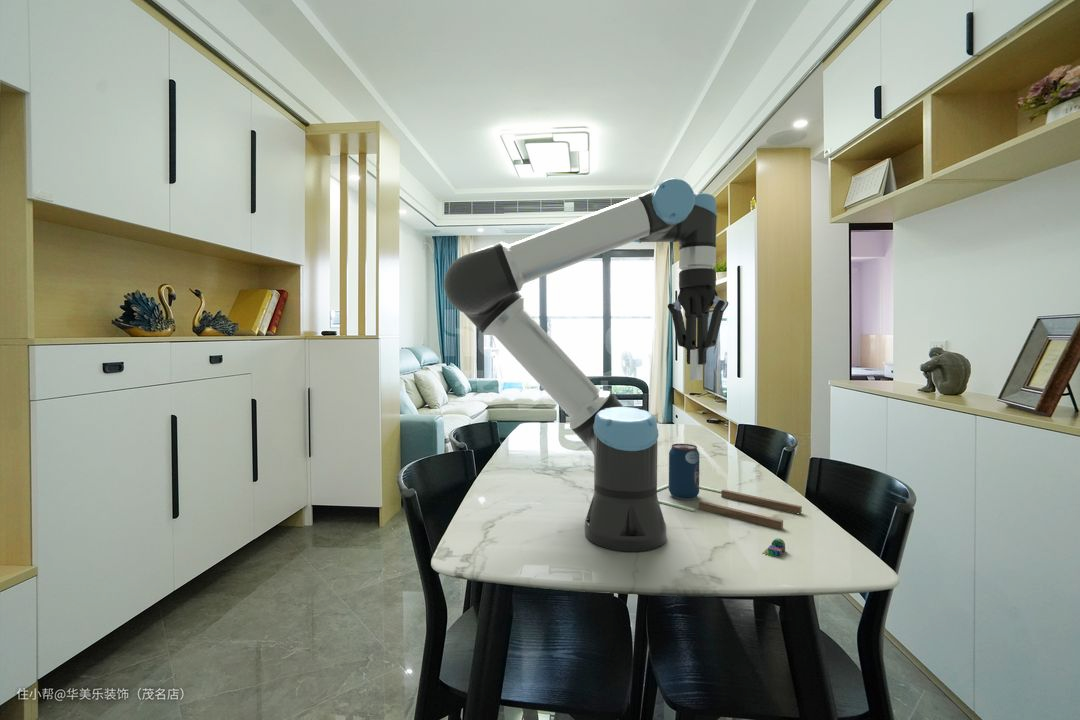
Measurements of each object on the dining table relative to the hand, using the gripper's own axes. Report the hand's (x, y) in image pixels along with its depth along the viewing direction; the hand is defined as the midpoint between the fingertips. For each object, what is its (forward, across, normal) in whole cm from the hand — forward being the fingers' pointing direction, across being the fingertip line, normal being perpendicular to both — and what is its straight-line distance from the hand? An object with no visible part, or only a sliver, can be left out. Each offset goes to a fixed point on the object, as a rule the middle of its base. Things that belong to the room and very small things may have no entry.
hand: (696, 379), depth 103 cm
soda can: (+29, +7, -8) cm, 30 cm away
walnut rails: (+28, -8, -8) cm, 31 cm away
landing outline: (+28, +6, -8) cm, 30 cm away
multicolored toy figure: (+29, -20, +10) cm, 37 cm away
